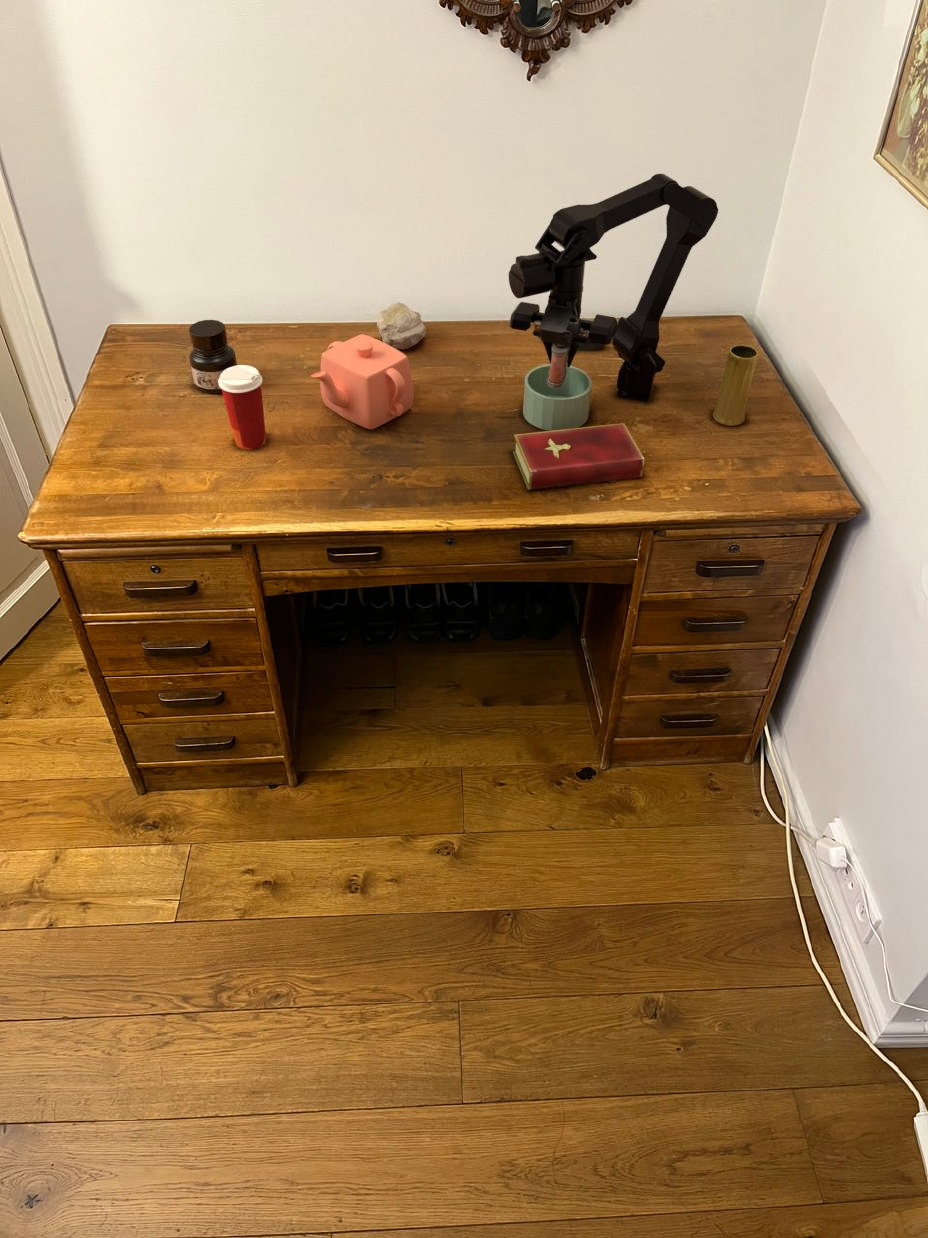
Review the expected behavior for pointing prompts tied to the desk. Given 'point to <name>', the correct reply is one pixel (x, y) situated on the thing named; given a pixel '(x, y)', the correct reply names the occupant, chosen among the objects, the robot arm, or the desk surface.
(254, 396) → the paper cup
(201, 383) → the ink bottle
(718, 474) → the desk surface
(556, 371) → the lighter
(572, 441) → the hardcover book
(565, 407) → the pen pot
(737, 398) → the vase
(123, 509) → the desk surface
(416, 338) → the grey rock
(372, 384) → the teapot
